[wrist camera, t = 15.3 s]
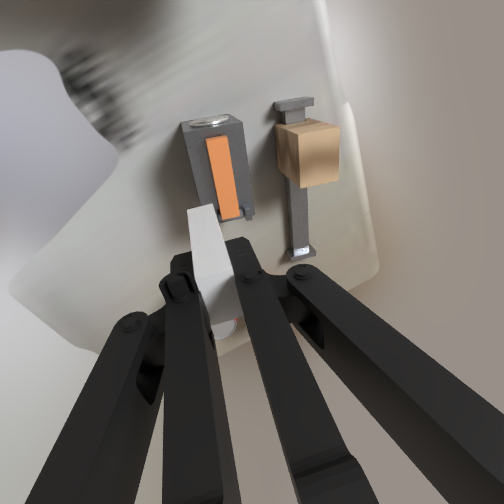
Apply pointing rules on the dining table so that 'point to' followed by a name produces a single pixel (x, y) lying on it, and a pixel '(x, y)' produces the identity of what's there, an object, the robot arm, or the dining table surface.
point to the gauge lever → (223, 178)
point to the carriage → (308, 152)
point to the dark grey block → (200, 161)
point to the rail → (296, 187)
